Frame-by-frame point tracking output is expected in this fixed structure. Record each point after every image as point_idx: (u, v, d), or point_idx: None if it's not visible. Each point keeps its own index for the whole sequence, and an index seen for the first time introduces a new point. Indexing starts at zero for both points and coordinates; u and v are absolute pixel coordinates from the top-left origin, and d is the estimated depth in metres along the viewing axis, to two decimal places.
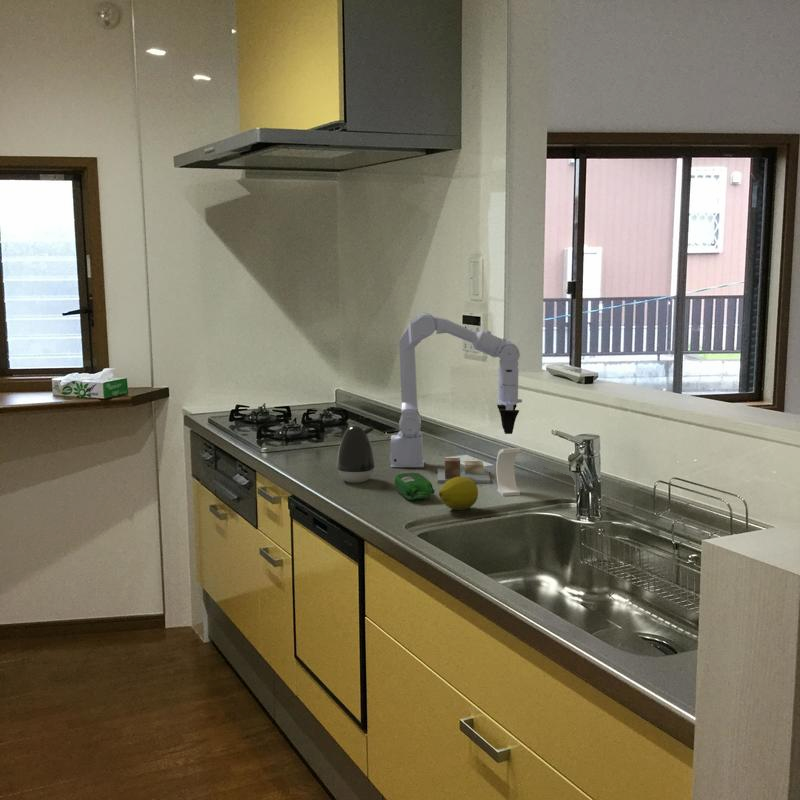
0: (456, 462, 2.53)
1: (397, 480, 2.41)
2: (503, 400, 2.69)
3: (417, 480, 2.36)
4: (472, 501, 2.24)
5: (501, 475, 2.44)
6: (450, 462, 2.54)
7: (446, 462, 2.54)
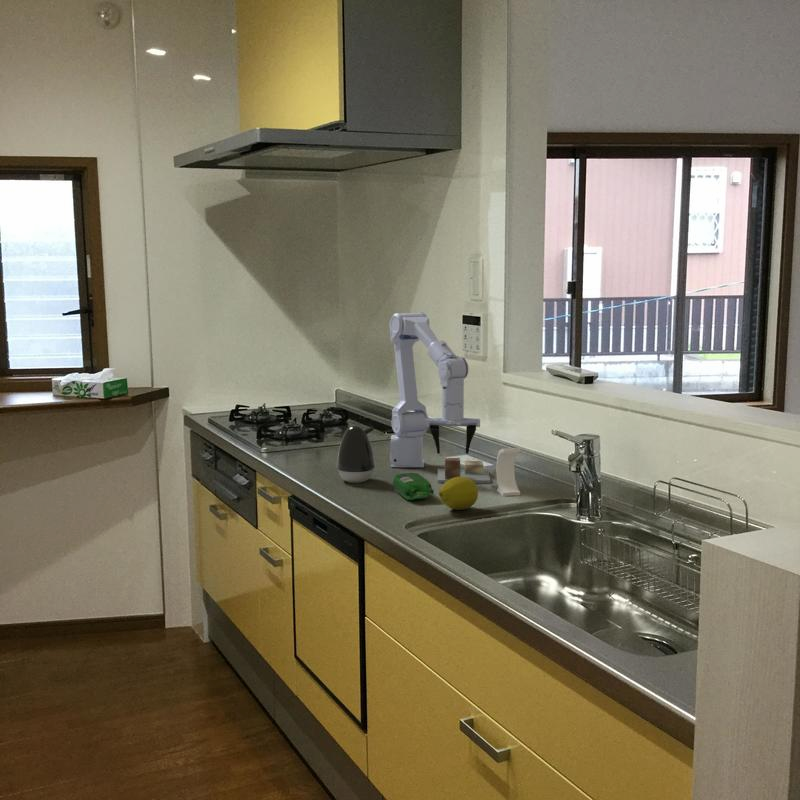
0: (456, 462, 2.53)
1: (396, 480, 2.41)
2: None
3: (416, 480, 2.35)
4: (472, 501, 2.24)
5: (501, 475, 2.44)
6: (450, 462, 2.54)
7: (446, 462, 2.54)
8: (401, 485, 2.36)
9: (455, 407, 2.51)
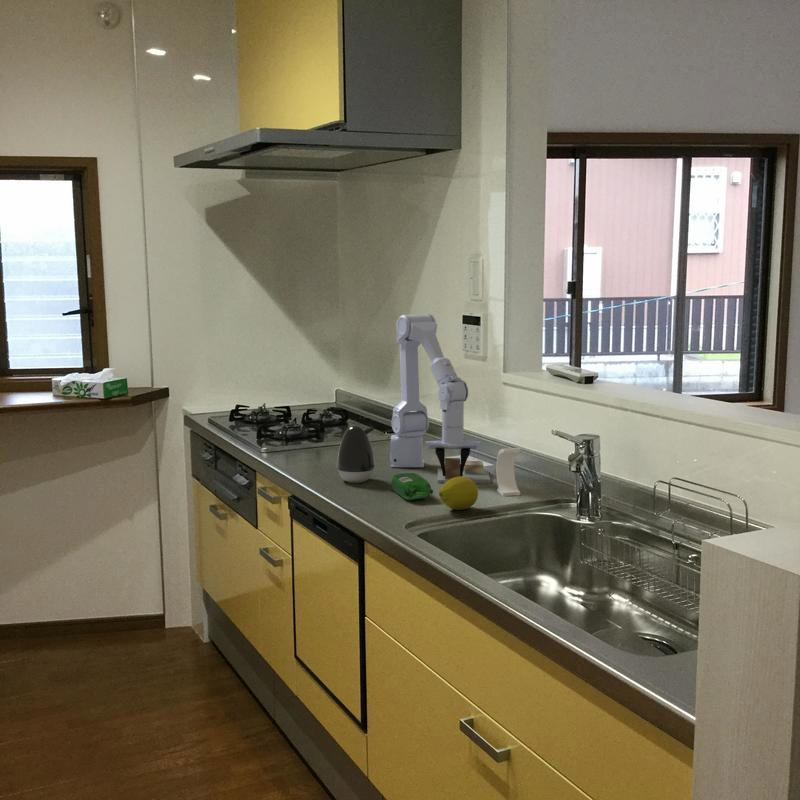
0: (456, 462, 2.53)
1: (394, 480, 2.41)
2: None
3: (415, 480, 2.35)
4: (472, 501, 2.24)
5: (501, 475, 2.44)
6: (450, 462, 2.54)
7: (446, 462, 2.54)
8: (400, 485, 2.36)
9: (455, 430, 2.51)
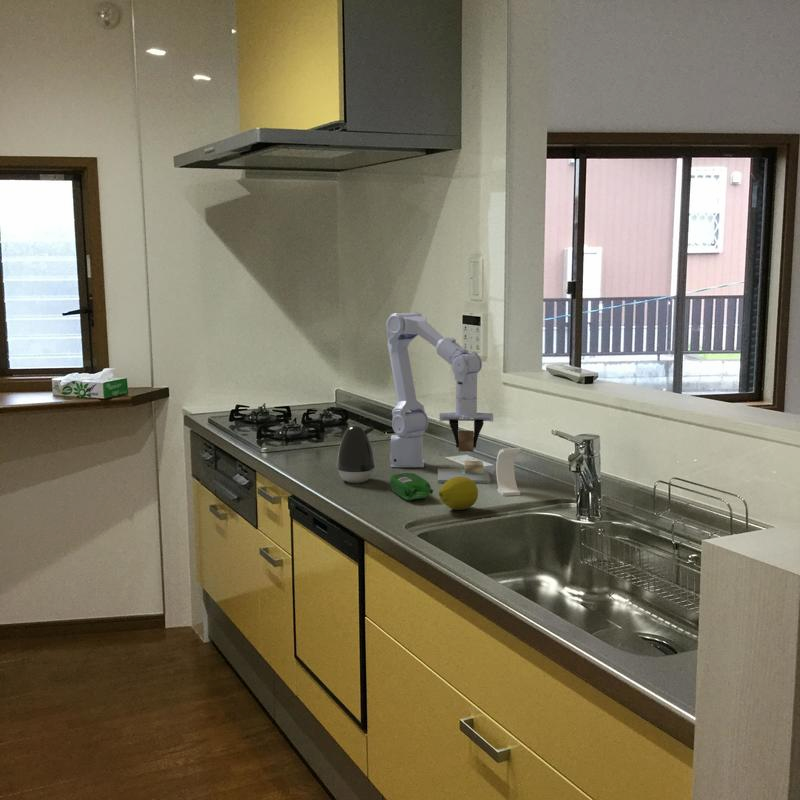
0: (469, 434, 2.56)
1: (393, 480, 2.41)
2: None
3: (415, 480, 2.35)
4: (472, 501, 2.24)
5: (501, 475, 2.44)
6: (463, 434, 2.56)
7: (460, 434, 2.57)
8: (400, 485, 2.36)
9: (468, 402, 2.55)
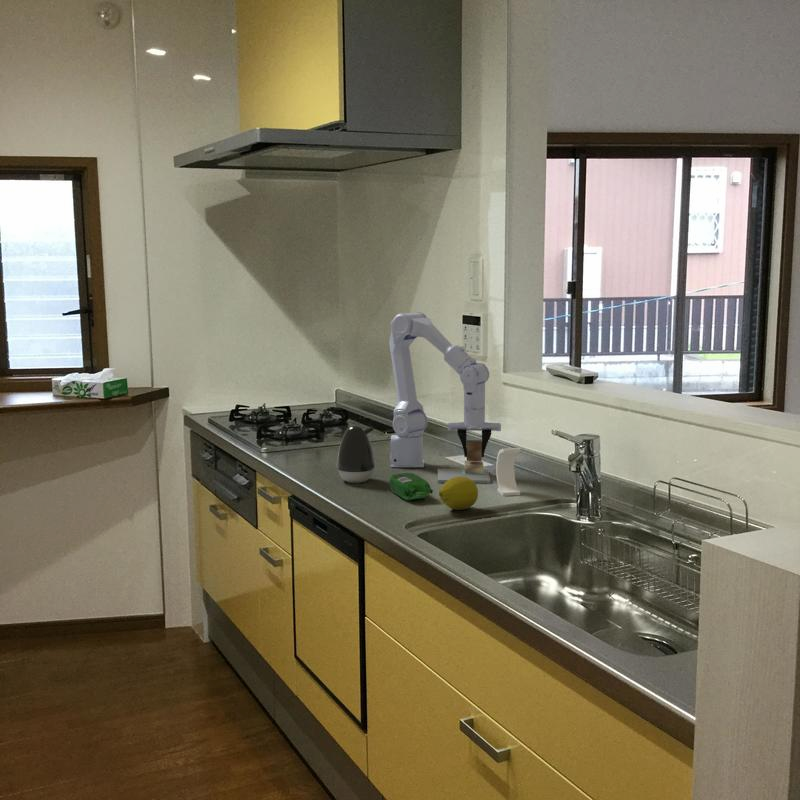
0: (478, 444, 2.59)
1: (392, 480, 2.41)
2: None
3: (414, 480, 2.35)
4: (472, 501, 2.24)
5: (501, 475, 2.44)
6: (472, 444, 2.60)
7: (468, 444, 2.60)
8: (399, 485, 2.36)
9: (477, 412, 2.58)
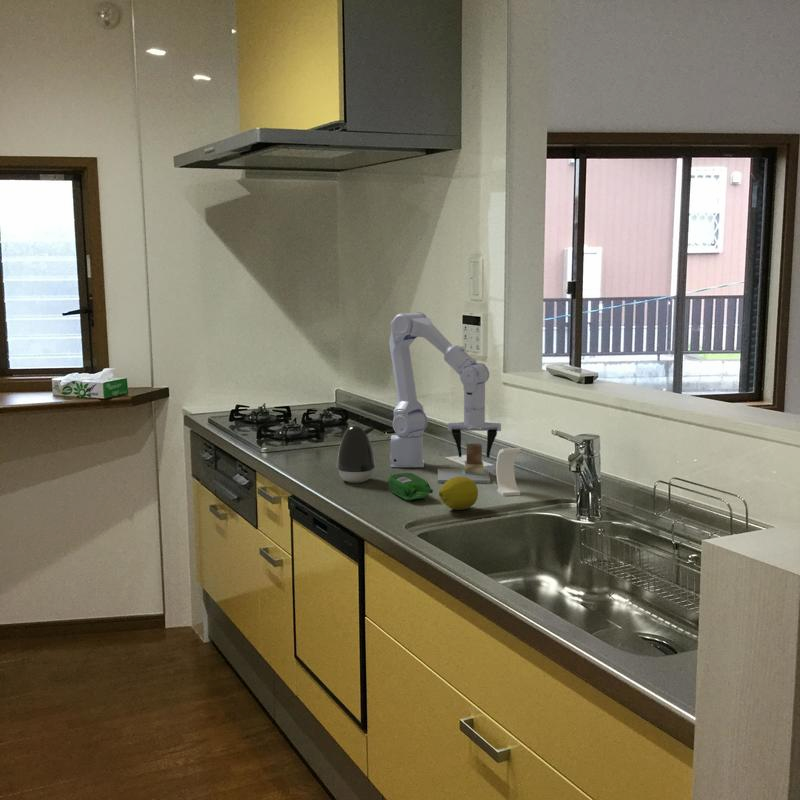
0: (478, 448, 2.60)
1: (392, 481, 2.40)
2: None
3: (414, 480, 2.35)
4: (472, 501, 2.24)
5: (501, 475, 2.44)
6: (472, 448, 2.60)
7: (468, 448, 2.60)
8: (399, 485, 2.36)
9: (477, 412, 2.58)
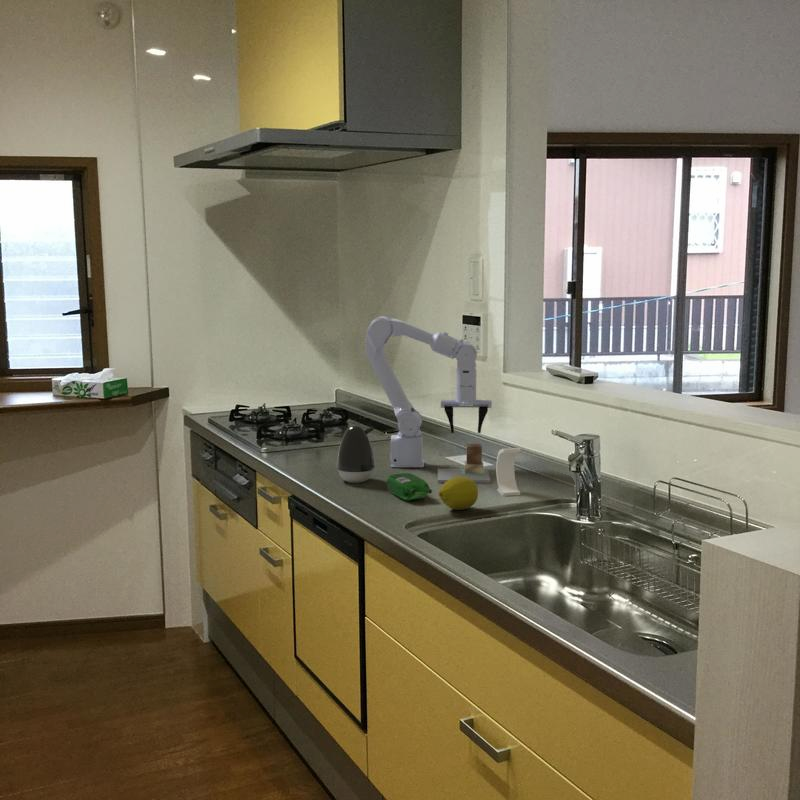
0: (478, 448, 2.60)
1: (391, 481, 2.40)
2: None
3: (413, 480, 2.35)
4: (472, 501, 2.24)
5: (501, 475, 2.44)
6: (472, 448, 2.60)
7: (468, 448, 2.60)
8: (398, 486, 2.35)
9: (468, 389, 2.68)
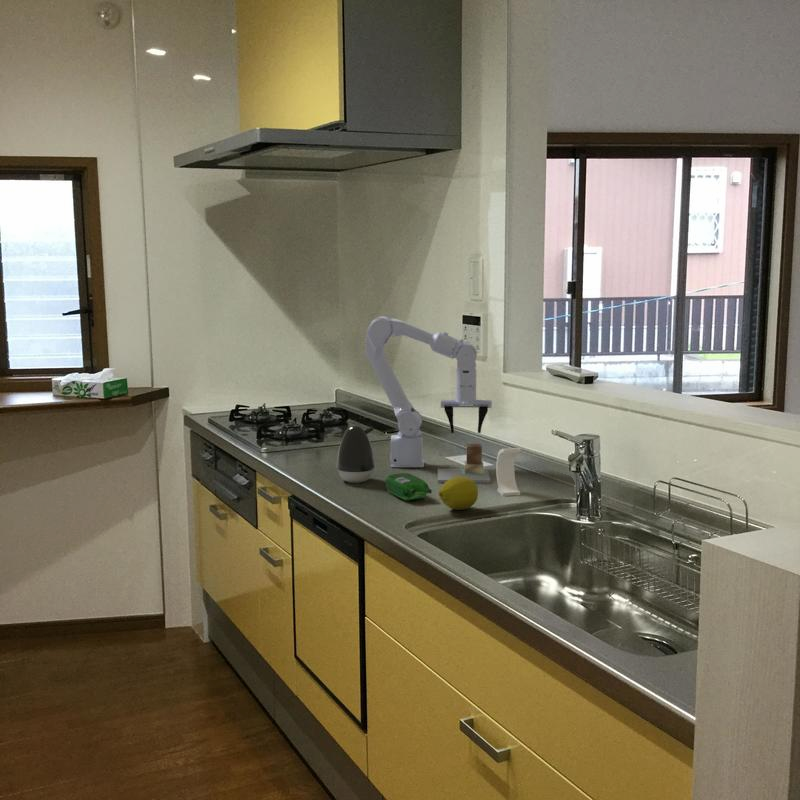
0: (478, 448, 2.60)
1: (390, 481, 2.40)
2: None
3: (413, 480, 2.35)
4: (472, 501, 2.24)
5: (501, 475, 2.44)
6: (472, 448, 2.60)
7: (468, 448, 2.60)
8: (398, 486, 2.35)
9: (468, 389, 2.68)
